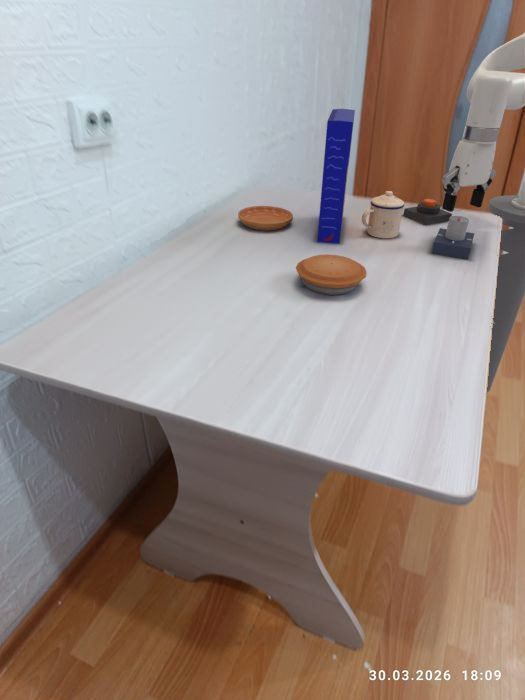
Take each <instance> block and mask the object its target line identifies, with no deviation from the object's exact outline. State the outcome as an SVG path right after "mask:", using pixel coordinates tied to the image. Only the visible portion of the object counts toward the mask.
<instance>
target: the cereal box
mask: <svg viewBox="0 0 525 700" xmlns="http://www.w3.org/2000/svg"><path fill="white" fill-rule="evenodd" d="M355 113H356V110H355V109H349V108H333V109H331V112H330V114H329V117H328V119H327V120H326V121H327V122H326V131H325V132H326V133H325V143H324V144H325V145H324V156H323V168H322V181H321V190H320V203H319V214H318V227H317V238H316V239H317V240H316V242H317V243H326V244H327V243H328V244H340V243H341V235H342V227H343V219H344V212H345V211H344V210H345V203H346V192H347V185H348V176H349V166H350V157H351V148H352V140H353V130H354V123H355V122H354V121H355Z"/></svg>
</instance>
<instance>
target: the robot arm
mask: <svg viewBox="0 0 525 700" xmlns="http://www.w3.org/2000/svg"><path fill="white" fill-rule="evenodd" d="M523 69H525V31H524V32H523V34H520V35H519V36H517V37H515V38H513V39H511V40H509V41H507V42H506V43H504V44H502V45H500V46H499V47H497V48H496V49H494V50H492V51H490V52H489V54H487V56H486V57H485V58H484V59H483V60H482V61H481V63H480V64H479V65H478V67H477V68H476V70H475V71H474V73H473V74H472V76H471V78H470V80H469V82H468V84H467V89H466V100H467V101H468V103H469V109H468V113H467V118H466V121H465V125H464V129H463V132H462V133H463V134H462V137H461V139H460V140H459V141H458V143H457V145H456V148H455V150H454V153H453V156H452V159H451V163H450V166H449V170H448V172H447V173H445V174H444V175H442V177H441V180H442V188H443V193H444V198H443V201H442V206H441V209H442V210H444V211H447V212H449V213H452V212H453V213H454V210H455V207H456V203H457V199H458V195H457V193H458V192H460V191H459V190H460V189H461V188H464V187H465V188H466V187H474V186H475V188H473V190H472V193H471V198H470V202H469V205H470V206H473V207H476V208H481V207H482V205H483V201H484V198H485V194H486V192H487V191H488V190H489V187H490V185H491V184H492V183H493V180H494V178H495V176H496V175H497V170H496V169H494V167H493V166H494V160H495V155H496V150H497V140H498V137H499V134H500V133H499V132H500V129H501V127H502V121H503V118H504V114H505V111H506V110H508V111H515V110H520V109H522V108H524V107H525V73H524V72H514V71H517V70H523ZM511 205H512V206H514V207H516V208H519V209H522V210H525V176H524V177H523V180H522V183H521V187H520V190H519V193H518V198H516V199H513V200H512V202H511Z"/></svg>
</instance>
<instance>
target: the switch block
mask: <svg viewBox="0 0 525 700" xmlns="http://www.w3.org/2000/svg"><path fill="white" fill-rule="evenodd" d="M423 203H424V201H422V202H421V201H420V202H419V203H417V206H411V207H405V208H403V213H402V216H404V217H406V218H408V219H411V220H413V221H415V222H417V223H420V224H422V225H425V226H428V225H429V226H430V225H434V224H440V223H445V222H449V218H450V217H451V216H453V213H452V212H449V211H447V210H444V209H442V206H441V204H438V203H436V205H435V207H426V206H423Z"/></svg>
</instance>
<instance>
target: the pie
mask: <svg viewBox="0 0 525 700" xmlns="http://www.w3.org/2000/svg"><path fill="white" fill-rule="evenodd" d="M295 269H296V272H297V274H298V276H299V277H300V280H301V281H302V282H303V284H304V286H305V287H306V288H307V289H309V290H310V291H312V292H314V293H316V294H321V295H326V296H340V295H345V294H346V295H347V294H348V293H351V292H352V291H353V290H355V288H357V286H358V285H359V284H360V283H361V282H362V281H363V280H364V279H365V278H367V269H366V267H365V266H364V265H363V264H362V263H360V262H358V261H357V260H354V259H352V258H350V257H346V256H344V255H338V254H328V253H327V254H317V255H313V256H309V257H307V258H304V259H302V260H300V261H299V262H298V263H297V264H296V266H295Z"/></svg>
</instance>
